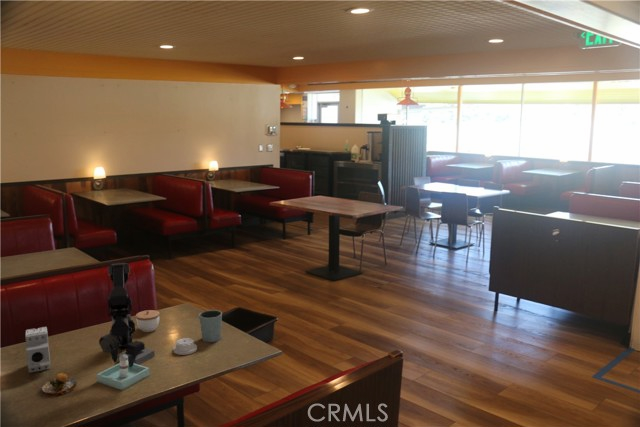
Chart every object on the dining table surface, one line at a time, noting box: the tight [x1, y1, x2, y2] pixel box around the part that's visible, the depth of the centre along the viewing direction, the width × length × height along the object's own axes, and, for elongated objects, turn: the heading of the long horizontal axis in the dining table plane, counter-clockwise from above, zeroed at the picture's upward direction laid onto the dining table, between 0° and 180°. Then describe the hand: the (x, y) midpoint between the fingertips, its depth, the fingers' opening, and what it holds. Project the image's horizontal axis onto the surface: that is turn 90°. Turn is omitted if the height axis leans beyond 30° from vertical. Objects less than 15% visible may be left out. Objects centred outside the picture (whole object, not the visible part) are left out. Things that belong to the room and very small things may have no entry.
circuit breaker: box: [25, 326, 51, 373], centre depth 212 cm, size 8×14×15 cm, turn 27°
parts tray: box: [96, 362, 151, 391], centre depth 207 cm, size 14×14×3 cm
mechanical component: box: [172, 337, 198, 356], centre depth 232 cm, size 10×4×10 cm
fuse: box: [118, 355, 128, 378], centre depth 206 cm, size 3×3×8 cm
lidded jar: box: [135, 309, 160, 333], centre depth 254 cm, size 11×11×9 cm
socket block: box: [118, 347, 156, 365], centre depth 224 cm, size 10×10×2 cm
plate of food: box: [40, 371, 77, 397], centre depth 199 cm, size 12×12×8 cm
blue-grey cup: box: [198, 309, 223, 343], centre depth 244 cm, size 10×10×12 cm
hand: (123, 364), depth 206 cm, fingers open, 8 cm apart
